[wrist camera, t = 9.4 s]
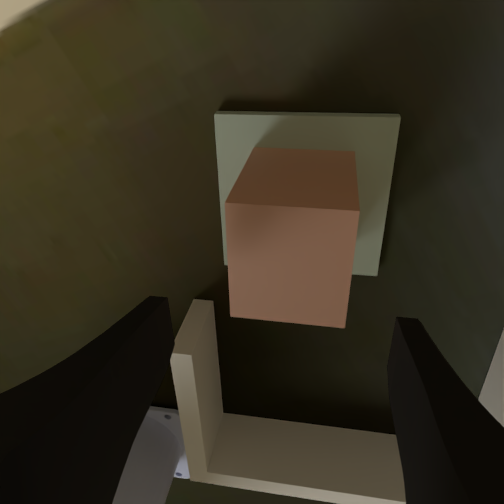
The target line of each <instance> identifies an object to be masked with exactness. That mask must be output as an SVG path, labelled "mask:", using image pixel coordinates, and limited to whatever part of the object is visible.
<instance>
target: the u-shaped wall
mask: <svg viewBox="0 0 504 504" xmlns="http://www.w3.org/2000/svg"><path fill="white" fill-rule="evenodd" d="M174 342H175V346H174V349H173V352H172V356H171V359H170V363H171V369H172V375H173V381H174V387H175V393H176V398H177V404H178V410H179V416H180V422H181V428H182V434H183V440H184V445H185V451H186V457H187V463H188V469H189V475H190V480H191V481H197V482H203V483H210V484H216V485H223V486H229V487H235V488H242V489H248V490H255V491H261V492H268V493H274V494H280V495H287V496H293V497H300V498H306V499H312V500H319V501H325V502H332V503H338V504H406V498H405V486H404V478H403V471H402V465H401V459H400V454H399V449H398V443H397V438H396V435H393V434H385V433H377V432H370V431H362V430H354V429H346V428H339V427H331V426H323V425H315V424H308V423H300V422H292V421H284V420H277V419H269V418H261V417H253V416H245V415H238V414H230V413H223V404H222V392H221V381H220V370H219V359H218V348H217V337H216V326H215V315H214V304H213V301H211V300H199V299H193V302H192V304H191V306H190V308H189V310H188V312H187V314H186V317H185V319H184V321H183V323H182V325H181V327H180V329H179V332H178V334H177V336H176V338H175V340H174ZM478 400H479V402H480V403H481V404H482V405H483V406H484V407H485V408H486V409H487V410H488V411H489V413H490V414H491V415H492V416H493V417H494V418H495V419H496V420H497V421H498V422H499V423H500V424H501V425H502V426H503V427H504V329H503V332H502V335H501V338H500V340H499V343H498V346H497V349H496V351H495V354H494V357H493V360H492V363H491V365H490V368H489V371H488V374H487V376H486V379H485V382H484V385H483V387H482V390H481V393H480V396H479V399H478Z"/></svg>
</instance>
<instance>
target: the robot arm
mask: <svg viewBox="0 0 504 504" xmlns="http://www.w3.org/2000/svg"><path fill="white" fill-rule="evenodd" d="M174 346H175V342H174V336H173V329H172V323H171V317H170V310H169V304H168V298H167V297H156V296H149V297H148V298H146V299H145V300H144V301H143V302H141V303H140V304H139V305H138V306H136V307H135V308H134V309H133V310H131V311H130V312H129V313H128V314H127V315H125V316H124V317H123V318H122V319H120V320H119V321H118V322H116V323H115V324H114V325H113V326H111V327H110V328H109V329H108V330H106V331H105V332H104V333H102V334H101V335H100V336H98V337H97V338H95V339H94V340H93V341H91V342H90V343H88V344H87V345H86V346H84V347H83V348H81V349H80V350H79V351H77V352H76V353H74V354H73V355H71V356H70V357H68V358H66V359H65V360H63V361H62V362H60V363H58V364H57V365H55V366H53V367H52V368H50V369H48V370H46V371H45V372H43V373H41V374H39V375H37V376H35V377H33V378H31V379H29V380H27V381H25V382H24V383H22V384H20V385H18V386H16V387H14V388H12V389H10V390H7V391H5V392H3V393H1V394H0V504H165V501H166V498H167V495H168V492H169V489H170V486H171V483H172V480H173V477H178V478H185V479H188V478H190V475H189V469H188V463H187V457H186V451H185V445H184V440H183V434H182V428H181V422H180V416H179V410H176V409H169V408H161V407H154V406H150V405H151V403H152V401H153V399H154V397H155V395H156V393H157V391H158V389H159V386H160V384H161V382H162V380H163V378H164V376H165V373H166V371H167V368H168V365H169V362H170V359H171V356H172V352H173V349H174ZM387 371H388V388H389V399H390V405H391V411H392V416H393V422H394V427H395V433H396V438H397V443H398V449H399V454H400V459H401V465H402V471H403V478H404V486H405V498H406V504H504V427H503V426H502V425H501V424H500V423H499V422H498V421H497V420H496V419H495V418H494V417H493V416H492V415H491V414H490V413H489V411H488V410H487V409H486V408H485V407H484V406H483V405H482V404H481V403H480V402H479V400H478V399H477V398H476V397H475V396H474V395H473V393H472V392H471V391H470V390H469V389H468V388H467V386H466V385H465V384H464V383H463V381H462V380H461V379H460V378H459V376H458V375H457V374H456V372H455V371H454V370H453V368H452V367H451V366H450V365H449V363H448V362H447V361H446V359H445V358H444V356H443V355H442V354H441V352H440V351H439V349H438V348H437V346H436V345H435V343H434V342H433V340H432V339H431V337H430V336H429V334H428V333H427V331H426V330H425V328H424V327H423V325H422V323H421V322H420V321H419V320H418V319H415V318H403V317H396V322H395V327H394V333H393V338H392V343H391V349H390V354H389V360H388V365H387Z"/></svg>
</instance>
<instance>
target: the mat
mask: <svg viewBox="0 0 504 504" xmlns="http://www.w3.org/2000/svg"><path fill="white" fill-rule="evenodd" d="M400 120H401V117H400V114H378V113H317V112H256V111H217V112H216V113H215V114H214V121H215V135H216V150H217V164H218V179H219V193H220V207H221V222H222V236H223V250H224V265H228V260H227V240H226V221H225V201H226V199H227V197H228V195H229V193H230V191H231V190H232V188H233V186H234V184H235V182H236V180H237V178H238V176H239V174H240V173H241V171H242V169H243V167H244V165H245V163H246V161H247V159H248V157H249V156H250V154H251V152H252V150H253V148H254V147H262V148H287V149H311V150H335V151H355V160H356V172H357V184H358V195H359V207H360V214H359V221H358V229H357V237H356V245H355V253H354V261H353V268H352V274H355V275H368V276H377V273H378V267H379V260H380V253H381V247H382V240H383V233H384V227H385V220H386V213H387V207H388V200H389V193H390V187H391V180H392V173H393V167H394V160H395V153H396V147H397V140H398V133H399V127H400Z"/></svg>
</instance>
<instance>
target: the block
mask: <svg viewBox="0 0 504 504" xmlns="http://www.w3.org/2000/svg"><path fill="white" fill-rule="evenodd" d="M359 214H360V207H359V195H358V184H357V172H356V160H355V151H335V150H311V149H287V148H262V147H254V148H253V150H252V152H251V154H250V156H249V157H248V159H247V161H246V163H245V165H244V167H243V169H242V171H241V173H240V174H239V176H238V178H237V180H236V182H235V184H234V186H233V188H232V190H231V191H230V193H229V195H228V197H227V199H226V201H225V221H226V240H227V260H228V280H229V299H230V317H239V318H249V319H259V320H269V321H278V322H288V323H298V324H308V325H317V326H327V327H337V328H345V323H346V315H347V307H348V300H349V292H350V284H351V276H352V268H353V261H354V253H355V245H356V237H357V229H358V221H359Z"/></svg>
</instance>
